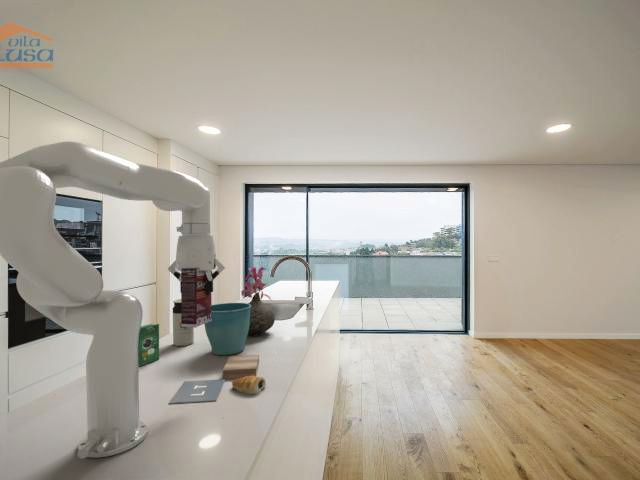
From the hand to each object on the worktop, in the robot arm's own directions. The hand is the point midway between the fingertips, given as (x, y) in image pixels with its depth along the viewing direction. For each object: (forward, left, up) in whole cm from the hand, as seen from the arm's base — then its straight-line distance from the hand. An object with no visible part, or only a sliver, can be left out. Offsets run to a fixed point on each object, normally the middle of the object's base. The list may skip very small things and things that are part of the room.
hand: (197, 294), depth 98 cm
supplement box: (0, 0, -8) cm, 8 cm away
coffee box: (+27, +24, -27) cm, 45 cm away
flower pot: (+36, -2, -27) cm, 45 cm away
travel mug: (+49, +18, -27) cm, 59 cm away
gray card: (0, 0, -27) cm, 27 cm away
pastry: (0, -14, -28) cm, 31 cm away
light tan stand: (+15, -10, -27) cm, 33 cm away
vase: (+60, -11, -27) cm, 67 cm away
